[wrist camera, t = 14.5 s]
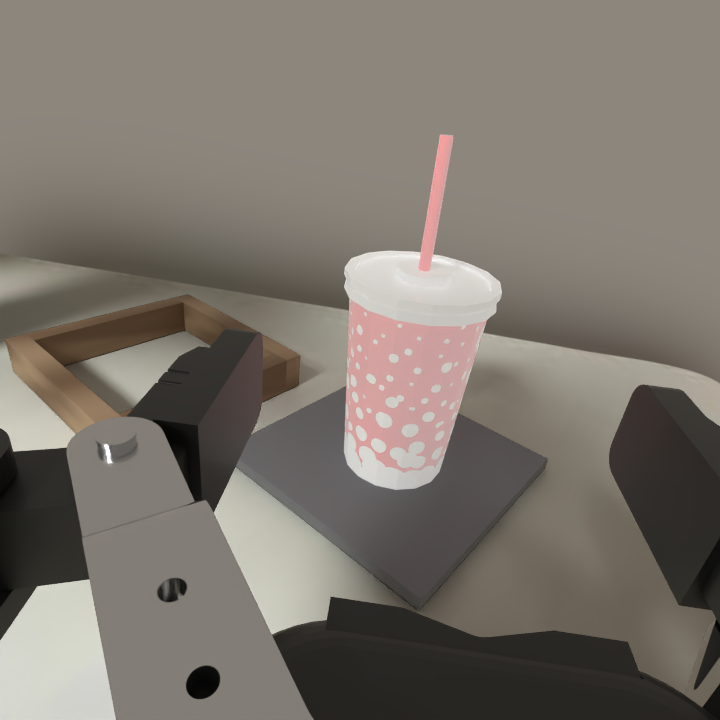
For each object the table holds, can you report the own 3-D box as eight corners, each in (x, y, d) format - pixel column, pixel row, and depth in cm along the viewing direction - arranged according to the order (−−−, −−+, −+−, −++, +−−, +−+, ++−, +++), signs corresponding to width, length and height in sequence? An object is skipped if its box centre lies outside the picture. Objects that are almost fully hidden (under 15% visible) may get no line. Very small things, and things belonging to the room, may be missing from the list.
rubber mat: (224, 458, 24) (224, 447, 24) (374, 379, 32) (375, 371, 31) (418, 610, 18) (421, 598, 18) (544, 468, 26) (547, 459, 25)
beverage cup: (438, 522, 21) (527, 155, 14) (304, 472, 23) (328, 125, 16) (469, 440, 26) (545, 142, 19) (357, 405, 28) (392, 121, 21)
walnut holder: (13, 371, 28) (5, 338, 27) (189, 321, 36) (187, 294, 35) (113, 470, 22) (107, 433, 21) (298, 385, 30) (300, 355, 29)
